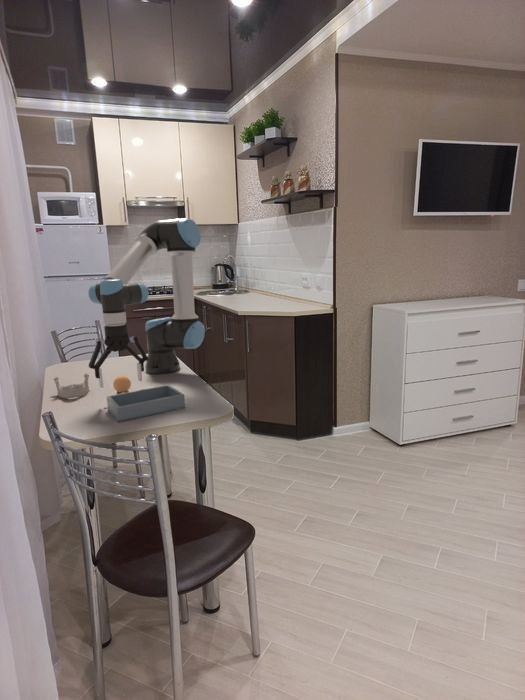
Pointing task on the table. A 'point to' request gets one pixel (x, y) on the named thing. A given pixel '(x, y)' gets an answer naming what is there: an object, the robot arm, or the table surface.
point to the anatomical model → (72, 389)
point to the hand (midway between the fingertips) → (121, 383)
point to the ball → (122, 384)
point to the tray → (145, 402)
